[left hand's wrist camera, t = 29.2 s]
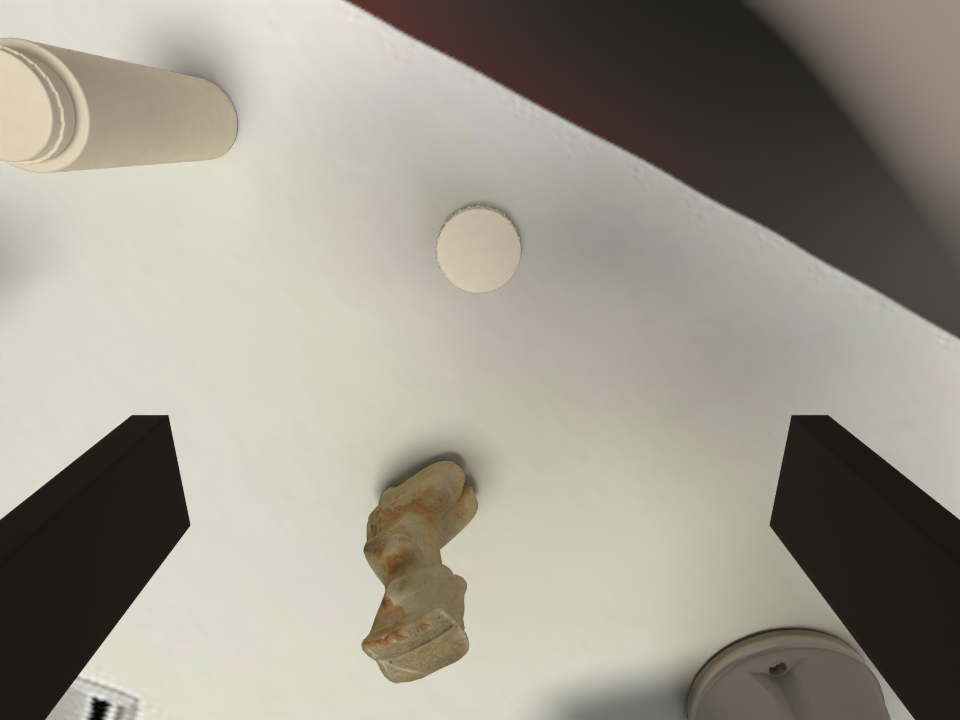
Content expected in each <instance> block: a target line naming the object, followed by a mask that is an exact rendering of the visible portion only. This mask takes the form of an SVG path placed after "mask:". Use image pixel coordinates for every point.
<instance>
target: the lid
mask: <svg viewBox="0 0 960 720" xmlns="http://www.w3.org/2000/svg"><path fill="white" fill-rule="evenodd" d="M444 224H445V225H444V227H443V228H441V229H440V232H441V233H440V235H439V236H438V238H437V241H438V242H437V246H436V250H437V257H436V258H437V260H438V264H439V268H440V269H441V271H442V273H443V275H444V276H445V277H446V278H447V279H448V280H449V281H450V282H451V283H452V284H453V285H455V286H456V287H458V288H460V289H462V290H464V291H467V292H472V293H486V292H490V291H493V290H496V289H498V288H500V287H501V286H503V285H504V284H506V283H507V282H508V281H509V280H510V279H511V278H512V276H513V275H514V274H515V272H516V270H517V268H518V266H519V262H520V258H521V249H522V247H521V244H520V236H519V235H518V234H517V232H516V231H517V229H516V227H514V226H513V224H512V221H511V219H510V220H509V219H508V218H507V217H506V216H505V214H504V213H503V214H502V213H501V212H499V211H497V209H496V208H495V209H492V208H490V207H488V206H486V207H485V206H479V205H477V206H473V207H470V206H468V208H465V209H462V210H461V209H459V211H458V212H457V213H455V214H452V215H451V218H449V220H448V221H447V220H446V221H445V223H444Z"/></svg>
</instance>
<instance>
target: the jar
mask: <svg viewBox="0 0 960 720" xmlns="http://www.w3.org/2000/svg"><path fill="white" fill-rule="evenodd" d="M236 134H237V116H236V112H235V109H234V107H233V104H232V102H231V101H230V99H229V98H228V96H227V95H226V94H225V93H224V91H223V90H222V89H220V88H219V87H218V86H217V85H215V84H214V83H212V82H210V81H208V80H206V79H203V78H199V77H194V76H189V75H185V74H180V73H176V72H171V71H166V70H162V69H157V68H152V67H148V66H143V65H139V64H134V63H129V62H125V61H120V60H116V59H111V58H106V57H102V56H97V55H92V54H88V53H83V52H79V51H74V50H69V49H65V48H60V47H55V46H51V45H46V44H42V43H37V42H32V41H28V40H23V39H18V38H2V39H0V160H2V161H5V162H7V163H9V164H10V165H13V166H15V167H17V168H19V169H22V170H25V171H30V172H35V173H51V172H64V171H76V170H89V169H102V168H114V167H127V166H139V165H152V164H165V163H177V162H190V161H202V160H211V159H215V158H218V157H220V156H222V155H223V154H225V153H226V152H227V151H228V150H229V149H230V147H231V146H232V145H233V143H234V141H235V138H236Z"/></svg>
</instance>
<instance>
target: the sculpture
mask: <svg viewBox="0 0 960 720" xmlns="http://www.w3.org/2000/svg"><path fill="white" fill-rule="evenodd" d="M465 480H466V477H465V474H464V472H463V470H462V468H461V467H459V466H458V465H457V464H456V463H454V462H452V461H440V462H436V463H434V464H431V465H429V466H428V467H426V468H424V469H423V470H421V471H420V472H418V473H416V474H415V475H413V476H412V477H410V478H409V479H407V480H406V481H405V482H404V483H402V484H401V485H399V486H397V487H395V486H392V487H389V488H388V489H387V490H385V491H384V492H383V494H382V495H381V498H380V501H379V505H378V506H377V507H376V508H375V509H374V510H373V512H372V513H371V514H370V515H369V518H368V523H367V542H366V544H365V546H364V554H365V557H366V559H367V561H368V563H369V565H370V567H371V568H372V570H373V571H374V572H375V574H376V575H377V577H378V578H379V579H380V581H381V582H382V583H383V584H384V586H385V594H384V597H383V600H382V602H381V605H380V607H379V609H378V612H377V615H376V617H375V620H374V623H373V626H372V629H371V631H370V633H369V635H368V636H367V637H366V638H365V639H364V640H363V642H362V644H361V646H362V650H363V651H364V652H365V653H366V654H367V655H368V656H369V657H371V658H372V659H374V660H375V661H376V662H377V663H378V665H379V668H380V670H381V671H382V673H383V675H384V676H385V677H386V678H387V679H388V680H389V681H392V682H394V683H400V682H411V681H414V680H418V679H421V678H424V677H425V676H427V675H429V674H431V673H433V672H435V671H437V670H439V669H441V668H443V667H446V666H448V665H450V664H452V663H455V662H456V661H458V660H459V659H461V658H462V657H463V656H464V655H465V654H466V653H467V651H468V649H469V642H468V638H467V635H466V633H465V631H464V629H465V628H464V621H463V616H464V595H465V592H466V589H467V583H466V581H465V580H464V578H462V577H461V576H458V575H455V574H453V572H452V571H451V570H450V569H449V568H448V567H447V566H445V565H443V564H442V560H441V554H440V549H441V548H442V547H444V546H445V545H446V544H447V543H448V542H449V541H450V540H452V539H453V538H454V537H455V536H456V535H457V534H458V533H459V532H460V531H461V530H462V529H463V528H464V527H465V526H466V525H467V524H468V523H469V522H470V521H471V520H472V518H473V517H474V516H475V514H476V511H477V509H478V502H477V499H476V496H475V493H474V491H473V488H472V487H471V486H469V485H464V483H465Z"/></svg>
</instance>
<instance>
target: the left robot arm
mask: <svg viewBox="0 0 960 720" xmlns="http://www.w3.org/2000/svg"><path fill="white" fill-rule="evenodd" d="M189 527H190V521H189V516H188V511H187V506H186V501H185V496H184V491H183V486H182V481H181V476H180V471H179V466H178V461H177V456H176V451H175V446H174V441H173V436H172V431H171V426H170V421H169V416H168V415H132V416H130V417H129V418H128V419H127V420H125V421H124V422H123V423H122V424H120V425H119V426H118V427H117V428H115V429H114V430H113V431H111V432H110V433H109V434H108V435H106V436H105V437H104V438H103V439H101V440H100V441H99V442H98V443H96V444H95V445H94V446H93V447H91V448H90V449H89V450H88V451H86V452H85V453H84V454H83V455H81V456H80V457H79V458H78V459H76V460H75V461H74V462H73V463H71V464H70V465H69V466H67V467H66V468H65V469H64V470H62V471H61V472H60V473H59V474H57V475H56V476H55V477H54V478H52V479H51V480H50V481H49V482H47V483H46V484H45V485H44V486H42V487H41V488H40V489H39V490H37V491H36V492H35V493H34V494H32V495H31V496H30V497H28V498H27V499H26V500H25V501H23V502H22V503H21V504H20V505H18V506H17V507H16V508H15V509H13V510H12V511H11V512H10V513H8V514H7V515H6V516H5V517H3V518H2V519H1V520H0V720H45V719H46V718H47V716H48V715H49V714H50V712H51V711H52V710H53V708H54V707H55V706H56V704H57V703H58V702H59V700H60V699H61V698H62V696H63V695H64V694H65V692H66V691H67V690H68V688H69V687H70V686H71V684H72V683H73V682H74V680H75V679H76V678H77V676H78V675H79V674H80V672H81V671H82V670H83V668H84V667H85V666H86V664H87V663H88V662H89V660H90V659H91V658H92V656H93V655H94V654H95V652H96V651H97V650H98V648H99V647H100V646H101V644H102V643H103V642H104V640H105V639H106V638H107V636H108V635H109V634H110V632H111V631H112V630H113V628H114V627H115V625H116V624H117V623H118V621H119V620H120V619H121V617H122V616H123V615H124V613H125V612H126V611H127V609H128V608H129V607H130V605H131V604H132V603H133V601H134V600H135V599H136V597H137V596H138V595H139V593H140V592H141V591H142V589H143V588H144V587H145V585H146V584H147V583H148V581H149V580H150V579H151V577H152V576H153V575H154V573H155V572H156V571H157V569H158V568H159V567H160V565H161V564H162V563H163V561H164V560H165V559H166V557H167V556H168V555H169V553H170V552H171V551H172V549H173V548H174V547H175V545H176V544H177V543H178V541H179V540H180V539H181V537H182V536H183V535H184V533H185V532H186V531H187V529H188V528H189ZM770 527H771V528H772V529H773V531H774V532H775V533H776V535H777V536H778V537H779V539H780V540H781V541H782V543H783V544H784V545H785V547H786V548H787V549H788V551H789V552H790V553H791V555H792V556H793V557H794V559H795V560H796V561H797V563H798V564H799V565H800V567H801V568H802V569H803V571H804V572H805V573H806V575H807V576H808V577H809V579H810V580H811V581H812V583H813V584H814V585H815V587H816V588H817V589H818V591H819V592H820V593H821V595H822V596H823V597H824V599H825V600H826V601H827V603H828V604H829V605H830V607H831V608H832V609H833V611H834V612H835V613H836V615H837V616H838V617H839V619H840V620H841V621H842V623H843V624H844V626H845V627H846V628H847V630H848V631H849V632H850V634H851V635H852V636H853V638H854V639H855V640H856V642H857V643H858V644H859V646H860V647H861V648H862V650H863V651H864V652H865V654H866V655H867V656H868V658H869V659H870V660H871V662H872V663H873V664H874V666H875V667H876V668H877V670H878V671H879V672H880V674H881V675H882V676H883V678H884V679H885V680H886V682H887V683H888V684H889V686H890V687H891V688H892V690H893V691H894V692H895V694H896V695H897V696H898V698H899V699H900V700H901V702H902V703H903V704H904V706H905V707H906V708H907V710H908V711H909V712H910V714H911V715H912V716H913V718H914V719H915V720H960V520H959V519H958V518H957V517H955V516H954V515H953V514H952V513H950V512H949V511H948V510H947V509H945V508H944V507H943V506H942V505H940V504H939V503H938V502H937V501H935V500H934V499H933V498H932V497H930V496H929V495H928V494H926V493H925V492H924V491H923V490H921V489H920V488H919V487H918V486H916V485H915V484H914V483H913V482H911V481H910V480H909V479H908V478H906V477H905V476H904V475H903V474H901V473H900V472H899V471H898V470H896V469H895V468H894V467H893V466H891V465H890V464H889V463H887V462H886V461H885V460H884V459H882V458H881V457H880V456H879V455H877V454H876V453H875V452H874V451H872V450H871V449H870V448H869V447H867V446H866V445H865V444H864V443H862V442H861V441H860V440H859V439H857V438H856V437H855V436H854V435H852V434H851V433H850V432H849V431H847V430H846V429H845V428H843V427H842V426H841V425H840V424H838V423H837V422H836V421H835V420H833V419H832V418H831V417H830V416H828V415H792V416H791V421H790V426H789V431H788V436H787V441H786V446H785V451H784V456H783V461H782V466H781V471H780V476H779V481H778V486H777V491H776V496H775V501H774V506H773V511H772V516H771V521H770ZM687 714H688V719H689V720H891V719H890V716H889V713H888V711H887V708H886V705H885V701H884V696H883V693H882V690H881V687H880V684H879V682H878V680H877V679H876V677H875V676H874V674H873V673H872V671H871V670H870V669H869V667H868V666H867V665H866V663H865V662H864V661H863V659H862V658H861V657H860V655H859V654H858V653H857V652H856V651H855V650H854V649H853V648H852V647H850V646H849V645H848V644H846V643H845V642H843V641H841V640H839V639H837V638H835V637H833V636H830V635H827V634H824V633H820V632H815V631H809V630H779V631H773V632H768V633H763V634H759V635H756V636H753V637H750V638H747V639H745V640H742V641H740V642H738V643H736V644H734V645H732V646H730V647H729V648H727V649H725V650H724V651H722V652H721V653H720V654H718V655H717V656H716V657H714V658H713V659H712V660H711V661H710V662H709V663H708V664H707V665H706V666H705V667H704V668H703V669H702V671H701V672H700V673H699V675H698V676H697V678H696V679H695V681H694V683H693V685H692V687H691V690H690V693H689V696H688V702H687Z"/></svg>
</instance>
